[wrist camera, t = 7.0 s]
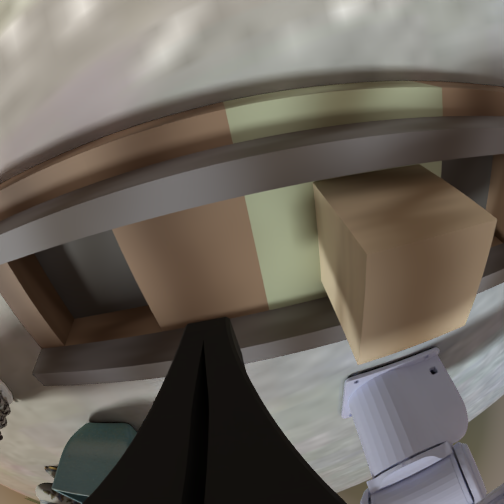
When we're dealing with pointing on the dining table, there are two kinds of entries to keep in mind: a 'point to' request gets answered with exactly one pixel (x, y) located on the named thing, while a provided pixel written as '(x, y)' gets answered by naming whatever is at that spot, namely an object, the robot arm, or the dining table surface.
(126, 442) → the flower pot
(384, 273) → the maple block
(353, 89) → the trap box
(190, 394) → the robot arm
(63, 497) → the apothecary jar
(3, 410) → the black and white cylinder
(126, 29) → the dining table surface
